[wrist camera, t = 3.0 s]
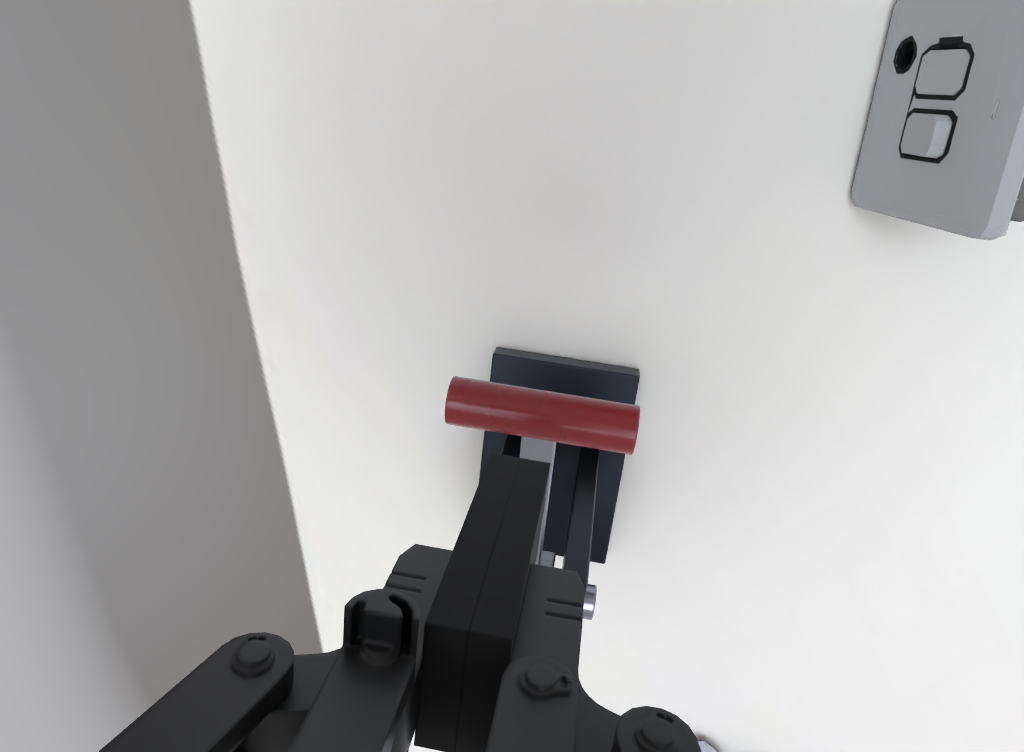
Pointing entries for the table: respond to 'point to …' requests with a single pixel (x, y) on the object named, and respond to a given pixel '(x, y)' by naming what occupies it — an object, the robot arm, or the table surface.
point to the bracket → (570, 457)
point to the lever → (542, 423)
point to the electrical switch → (948, 118)
